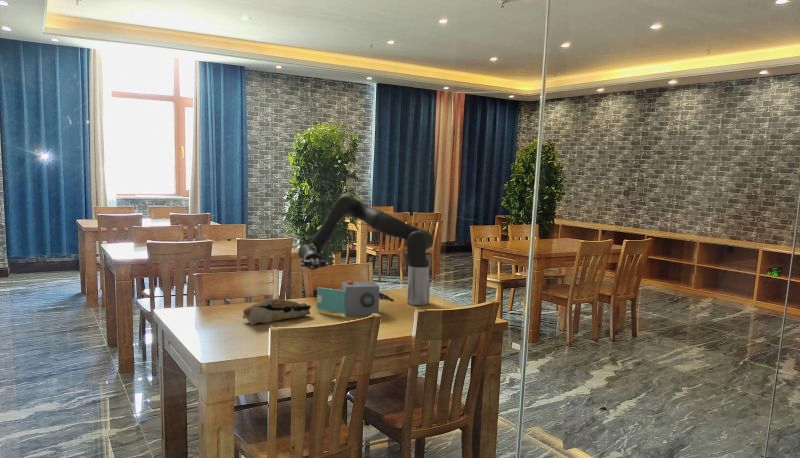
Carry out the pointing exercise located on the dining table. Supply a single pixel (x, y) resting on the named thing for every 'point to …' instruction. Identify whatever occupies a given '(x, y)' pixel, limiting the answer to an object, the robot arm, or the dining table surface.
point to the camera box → (361, 298)
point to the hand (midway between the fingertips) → (316, 266)
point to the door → (331, 300)
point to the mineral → (275, 311)
